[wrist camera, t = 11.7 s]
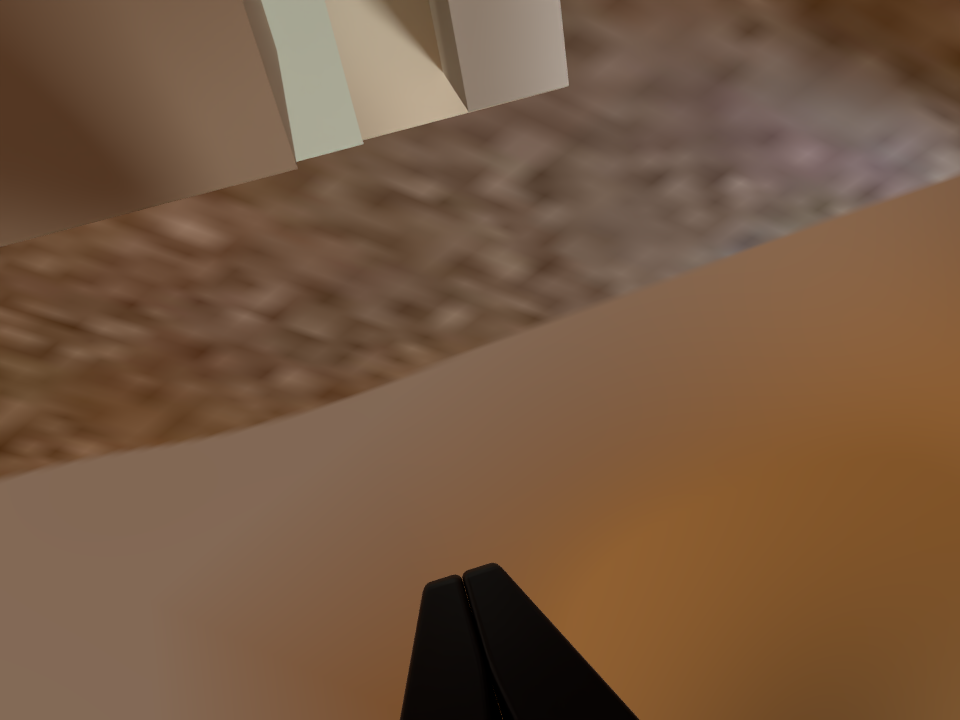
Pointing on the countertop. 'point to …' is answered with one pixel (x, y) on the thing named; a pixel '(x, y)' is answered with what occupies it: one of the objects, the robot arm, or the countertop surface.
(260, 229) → the countertop surface
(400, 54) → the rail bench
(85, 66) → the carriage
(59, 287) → the countertop surface
